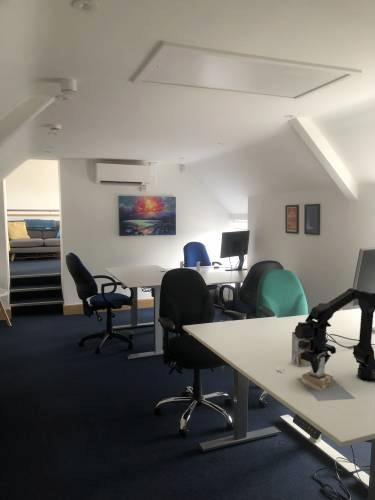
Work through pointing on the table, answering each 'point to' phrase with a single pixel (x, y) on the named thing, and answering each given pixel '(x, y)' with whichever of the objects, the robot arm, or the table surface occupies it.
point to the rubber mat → (329, 392)
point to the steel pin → (319, 368)
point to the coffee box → (298, 352)
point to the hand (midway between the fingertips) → (317, 371)
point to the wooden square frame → (317, 381)
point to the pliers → (280, 370)
